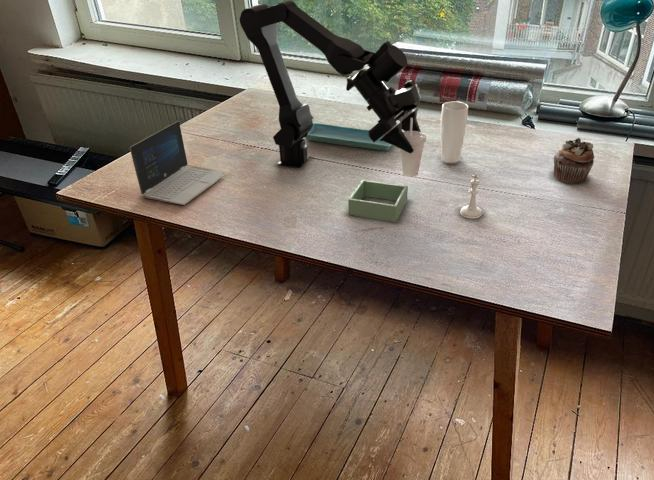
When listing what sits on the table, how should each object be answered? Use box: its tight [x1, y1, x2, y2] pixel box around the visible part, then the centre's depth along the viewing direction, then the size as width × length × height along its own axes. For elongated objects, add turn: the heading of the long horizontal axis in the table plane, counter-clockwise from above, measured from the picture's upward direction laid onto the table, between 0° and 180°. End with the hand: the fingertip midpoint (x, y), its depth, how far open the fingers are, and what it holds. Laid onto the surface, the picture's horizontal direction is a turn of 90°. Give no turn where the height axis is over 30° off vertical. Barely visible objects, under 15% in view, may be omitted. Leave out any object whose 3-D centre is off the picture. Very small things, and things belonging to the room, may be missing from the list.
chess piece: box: [459, 172, 483, 219], centre depth 128 cm, size 5×5×10 cm
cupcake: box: [553, 137, 595, 185], centre depth 142 cm, size 10×10×10 cm
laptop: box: [129, 120, 228, 206], centre depth 138 cm, size 18×12×13 cm
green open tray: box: [347, 179, 409, 223], centre depth 132 cm, size 11×10×4 cm
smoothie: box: [400, 118, 427, 178], centre depth 135 cm, size 6×6×14 cm
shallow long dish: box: [304, 122, 393, 152], centre depth 164 cm, size 26×9×2 cm, turn 72°
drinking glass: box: [440, 100, 469, 164], centre depth 149 cm, size 7×7×15 cm
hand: (417, 147), depth 134 cm, fingers closed on smoothie, 6 cm apart
